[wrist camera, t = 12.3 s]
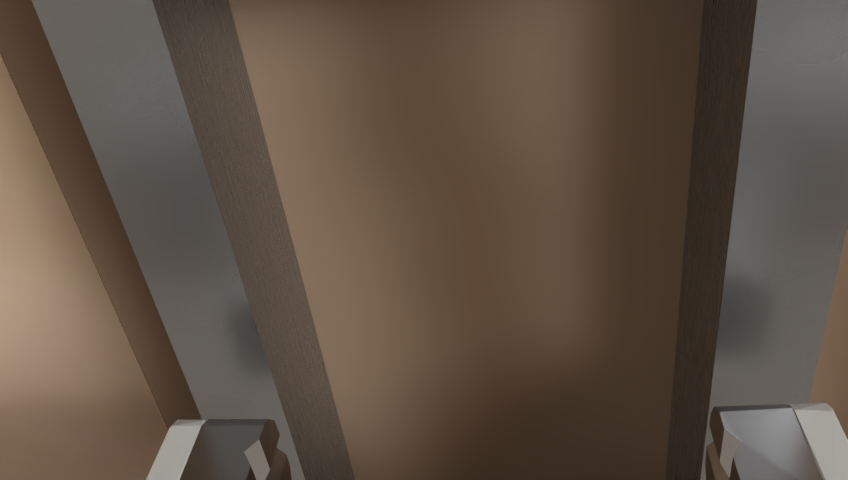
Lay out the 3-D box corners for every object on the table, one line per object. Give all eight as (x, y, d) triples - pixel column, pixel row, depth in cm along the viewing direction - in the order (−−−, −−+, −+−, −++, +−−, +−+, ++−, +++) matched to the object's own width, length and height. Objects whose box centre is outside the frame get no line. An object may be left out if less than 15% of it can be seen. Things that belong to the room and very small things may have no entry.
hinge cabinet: (879, -320, 14) (1273, -340, 7) (762, 375, 23) (875, 664, 16) (89, -208, 16) (-236, -134, 9) (279, 390, 25) (195, 654, 18)
